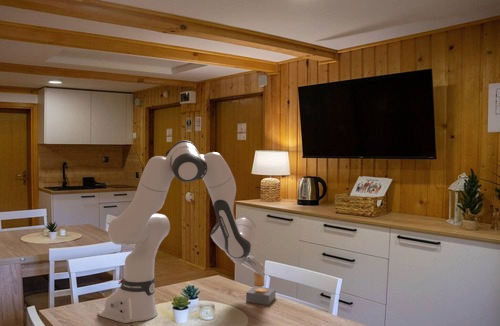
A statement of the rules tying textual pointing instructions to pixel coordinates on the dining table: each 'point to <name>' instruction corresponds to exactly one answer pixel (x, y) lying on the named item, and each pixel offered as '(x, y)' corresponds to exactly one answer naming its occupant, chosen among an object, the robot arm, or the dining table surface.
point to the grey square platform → (260, 295)
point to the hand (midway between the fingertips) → (260, 273)
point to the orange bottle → (258, 279)
